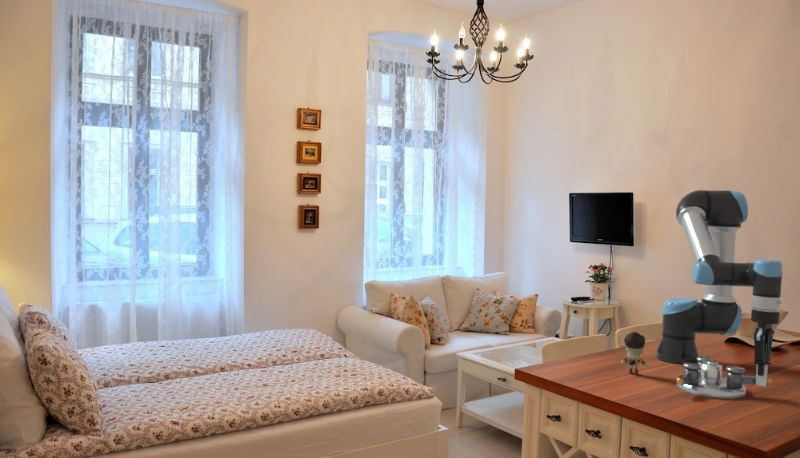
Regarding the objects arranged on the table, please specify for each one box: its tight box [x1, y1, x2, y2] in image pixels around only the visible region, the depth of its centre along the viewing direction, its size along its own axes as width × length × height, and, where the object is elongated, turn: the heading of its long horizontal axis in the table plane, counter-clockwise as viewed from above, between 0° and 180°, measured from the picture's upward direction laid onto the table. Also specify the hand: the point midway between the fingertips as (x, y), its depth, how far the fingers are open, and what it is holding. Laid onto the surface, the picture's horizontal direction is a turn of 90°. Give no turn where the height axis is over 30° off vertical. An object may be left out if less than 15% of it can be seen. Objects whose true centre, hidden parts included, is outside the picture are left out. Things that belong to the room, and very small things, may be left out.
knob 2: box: [696, 355, 719, 377], centre depth 213 cm, size 13×5×6 cm, turn 136°
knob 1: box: [676, 362, 701, 386], centre depth 199 cm, size 13×5×6 cm, turn 136°
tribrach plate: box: [676, 361, 747, 400], centre depth 203 cm, size 20×20×9 cm
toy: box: [620, 331, 648, 375], centre depth 219 cm, size 9×7×15 cm
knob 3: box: [725, 365, 773, 389], centre depth 198 cm, size 13×5×6 cm, turn 81°
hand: (760, 385), depth 195 cm, fingers closed
